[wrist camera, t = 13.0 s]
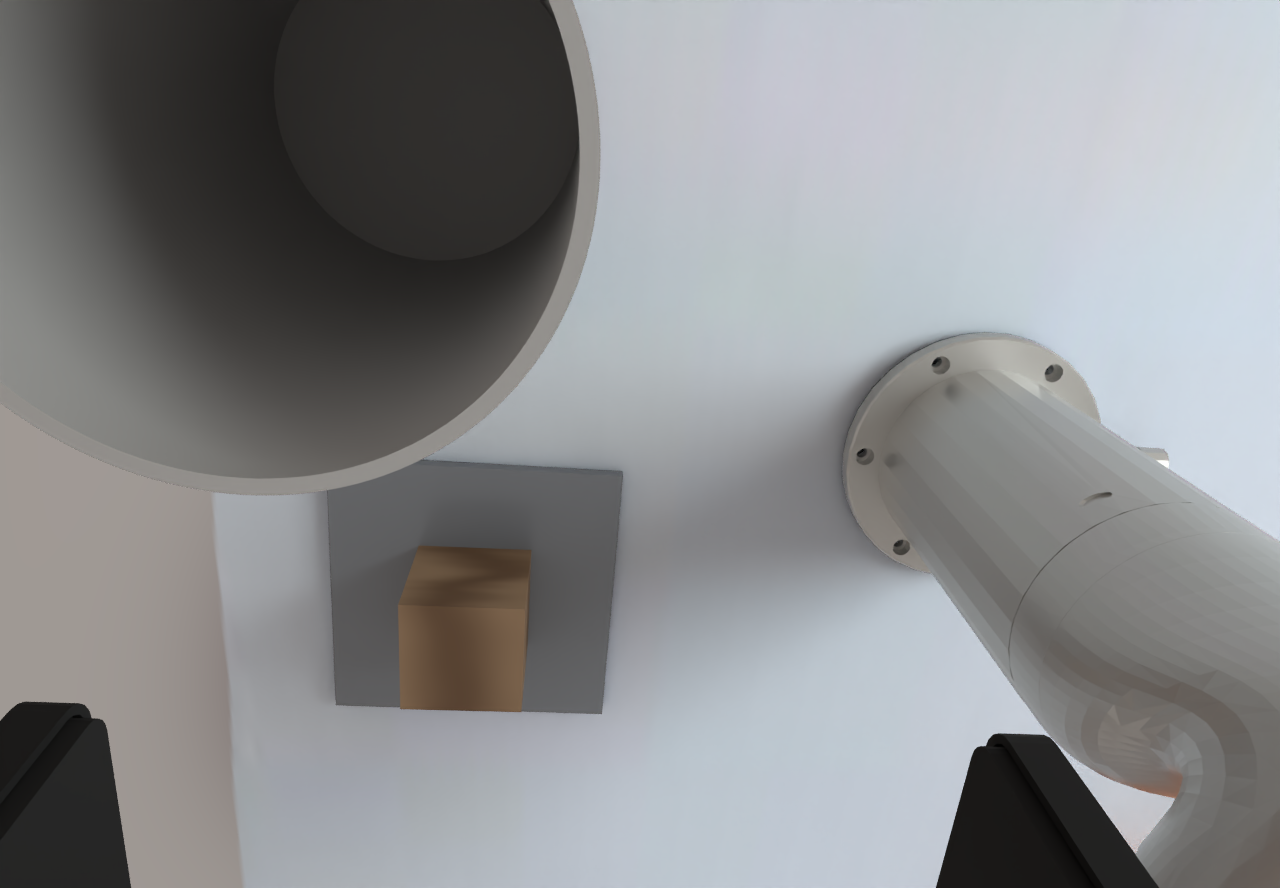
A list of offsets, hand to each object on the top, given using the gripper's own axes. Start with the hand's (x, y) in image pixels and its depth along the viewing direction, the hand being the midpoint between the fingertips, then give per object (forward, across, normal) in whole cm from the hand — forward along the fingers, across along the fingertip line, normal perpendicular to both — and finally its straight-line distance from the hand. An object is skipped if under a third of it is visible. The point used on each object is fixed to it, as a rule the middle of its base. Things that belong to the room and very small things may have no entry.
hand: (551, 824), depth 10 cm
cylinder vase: (+34, +6, -6) cm, 35 cm away
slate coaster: (+33, +4, +17) cm, 38 cm away
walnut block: (+33, +4, +17) cm, 37 cm away
